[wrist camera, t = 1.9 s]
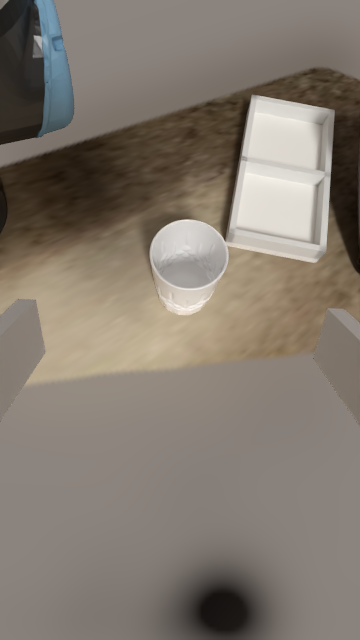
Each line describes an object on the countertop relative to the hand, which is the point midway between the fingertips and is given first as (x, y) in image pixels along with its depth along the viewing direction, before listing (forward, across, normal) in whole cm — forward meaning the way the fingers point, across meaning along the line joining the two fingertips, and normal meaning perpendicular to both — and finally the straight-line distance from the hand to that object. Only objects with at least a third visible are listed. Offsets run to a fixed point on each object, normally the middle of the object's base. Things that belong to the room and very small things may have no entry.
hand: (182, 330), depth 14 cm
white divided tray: (+38, +15, +4) cm, 41 cm away
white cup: (+25, +1, -9) cm, 27 cm away
